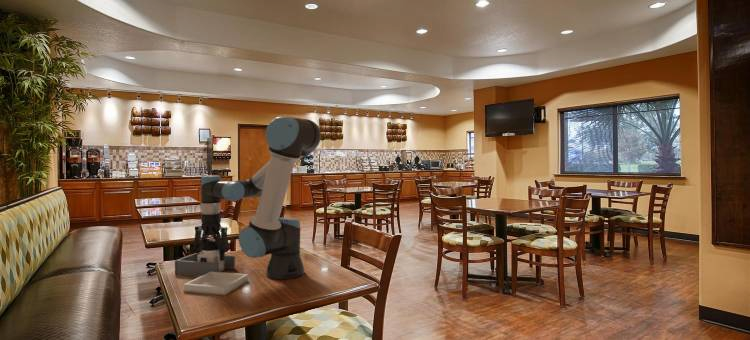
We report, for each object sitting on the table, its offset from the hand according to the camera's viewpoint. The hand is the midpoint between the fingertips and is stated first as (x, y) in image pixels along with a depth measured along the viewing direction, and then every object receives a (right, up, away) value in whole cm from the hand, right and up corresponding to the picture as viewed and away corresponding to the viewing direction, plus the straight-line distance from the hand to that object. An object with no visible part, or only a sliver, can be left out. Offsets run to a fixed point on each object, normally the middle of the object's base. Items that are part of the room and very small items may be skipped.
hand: (211, 267), depth 164 cm
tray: (+10, -2, -18) cm, 20 cm away
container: (0, -2, 0) cm, 2 cm away
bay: (-2, -2, +1) cm, 3 cm away
